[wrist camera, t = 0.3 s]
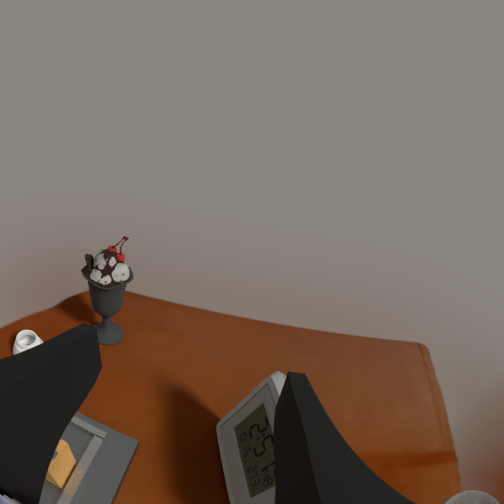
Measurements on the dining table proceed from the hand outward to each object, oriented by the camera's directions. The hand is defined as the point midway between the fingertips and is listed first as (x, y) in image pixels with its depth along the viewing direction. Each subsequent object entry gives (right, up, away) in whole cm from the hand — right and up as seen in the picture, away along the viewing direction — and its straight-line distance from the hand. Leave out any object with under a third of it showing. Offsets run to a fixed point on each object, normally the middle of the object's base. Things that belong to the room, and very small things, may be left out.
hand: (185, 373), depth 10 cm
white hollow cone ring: (-26, -9, +18) cm, 33 cm away
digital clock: (+2, -19, +14) cm, 24 cm away
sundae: (-18, -7, +28) cm, 34 cm away
